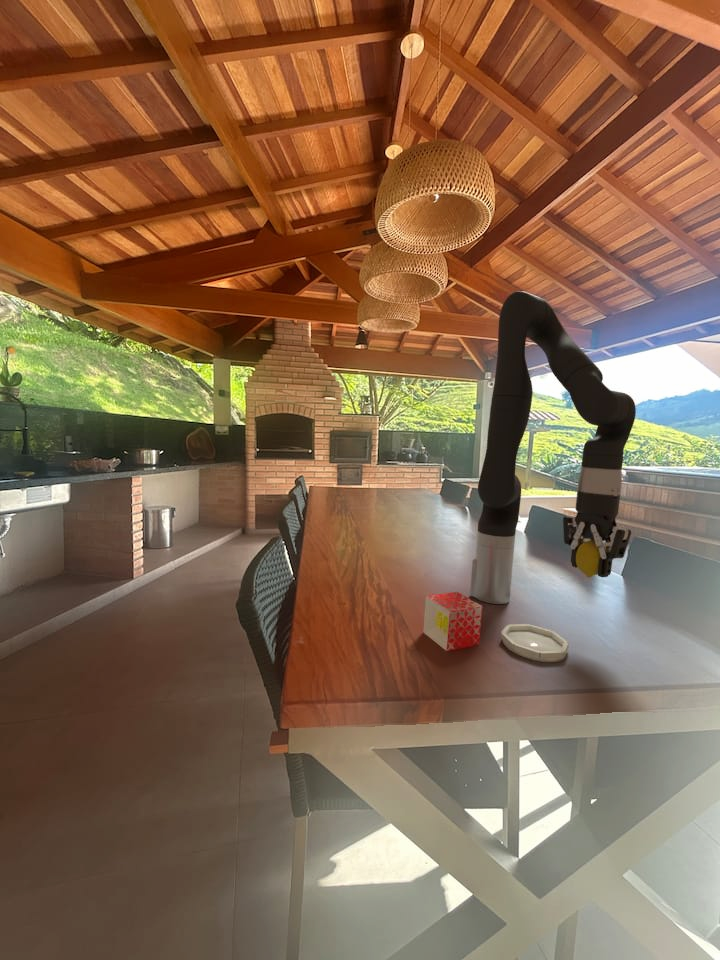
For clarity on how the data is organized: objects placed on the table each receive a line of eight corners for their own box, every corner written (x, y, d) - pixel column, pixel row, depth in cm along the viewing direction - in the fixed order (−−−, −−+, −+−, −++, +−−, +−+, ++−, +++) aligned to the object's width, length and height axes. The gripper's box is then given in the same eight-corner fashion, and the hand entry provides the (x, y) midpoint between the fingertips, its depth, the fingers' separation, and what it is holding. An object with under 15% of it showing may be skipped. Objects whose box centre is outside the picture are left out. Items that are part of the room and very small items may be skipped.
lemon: (604, 584, 79) (608, 544, 78) (572, 578, 82) (576, 539, 81) (604, 576, 84) (608, 539, 83) (574, 571, 87) (578, 535, 86)
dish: (494, 647, 78) (495, 638, 78) (511, 627, 87) (512, 619, 87) (560, 669, 71) (561, 660, 71) (570, 645, 81) (571, 636, 80)
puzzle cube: (423, 632, 83) (425, 595, 82) (454, 627, 86) (456, 591, 85) (446, 651, 76) (449, 611, 75) (479, 644, 79) (482, 606, 78)
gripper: (555, 486, 86) (548, 562, 88) (619, 495, 73) (608, 585, 75) (581, 486, 89) (573, 560, 91) (647, 495, 76) (636, 582, 77)
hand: (589, 571), depth 83 cm, fingers closed on lemon, 5 cm apart
